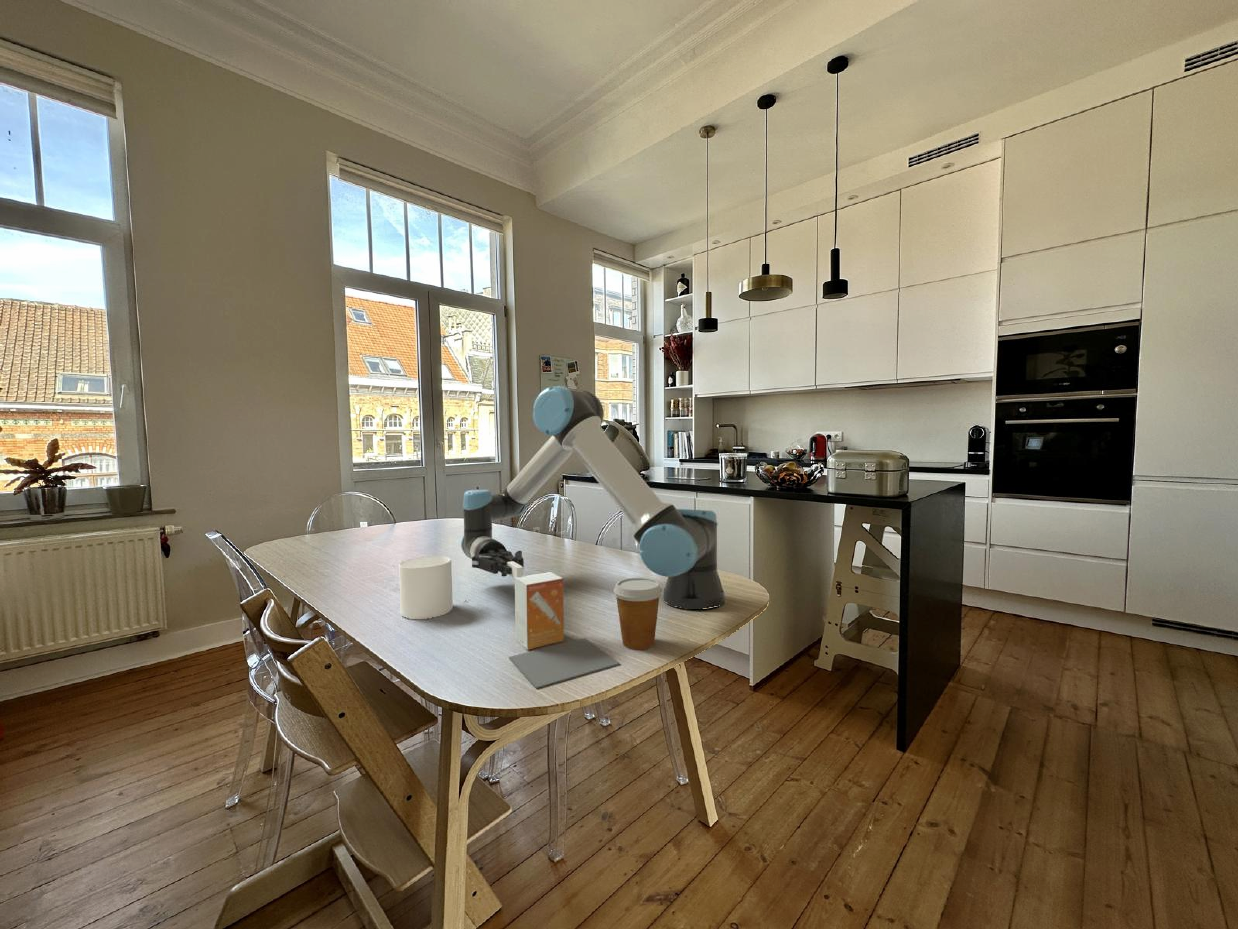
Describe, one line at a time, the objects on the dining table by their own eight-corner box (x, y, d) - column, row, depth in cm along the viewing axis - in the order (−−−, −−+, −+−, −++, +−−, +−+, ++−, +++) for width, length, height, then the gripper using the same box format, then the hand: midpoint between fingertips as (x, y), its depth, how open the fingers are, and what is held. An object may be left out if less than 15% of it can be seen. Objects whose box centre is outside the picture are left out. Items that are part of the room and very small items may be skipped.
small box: (527, 651, 94) (525, 584, 94) (515, 640, 100) (513, 577, 99) (565, 641, 99) (563, 577, 98) (551, 631, 104) (550, 571, 103)
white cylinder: (431, 600, 126) (429, 554, 126) (463, 607, 120) (461, 559, 120) (390, 614, 116) (388, 564, 115) (422, 623, 110) (420, 570, 110)
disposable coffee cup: (666, 652, 93) (665, 589, 92) (616, 654, 92) (615, 591, 92) (658, 632, 102) (657, 576, 102) (612, 635, 102) (611, 578, 101)
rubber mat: (585, 639, 99) (585, 638, 99) (619, 664, 88) (619, 662, 88) (509, 658, 91) (508, 656, 91) (536, 689, 80) (536, 687, 80)
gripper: (513, 563, 131) (547, 585, 111) (463, 571, 124) (491, 595, 104) (512, 536, 131) (547, 553, 111) (462, 541, 124) (490, 560, 104)
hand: (520, 573), depth 108 cm, fingers closed
